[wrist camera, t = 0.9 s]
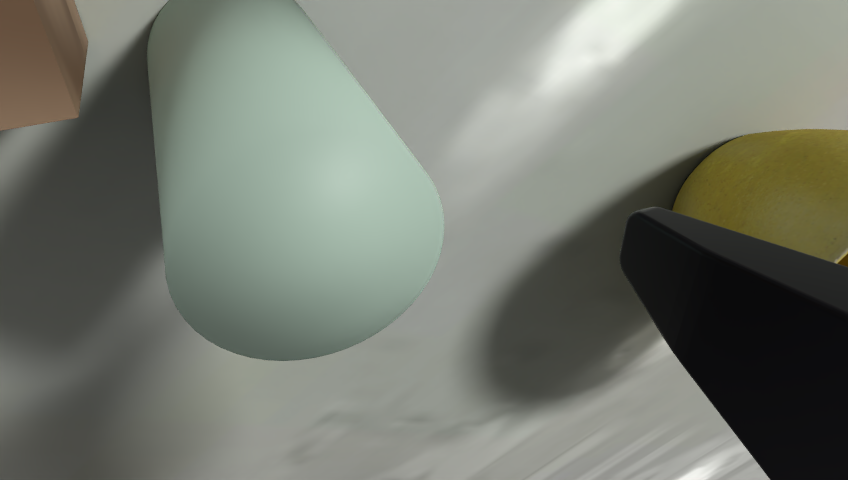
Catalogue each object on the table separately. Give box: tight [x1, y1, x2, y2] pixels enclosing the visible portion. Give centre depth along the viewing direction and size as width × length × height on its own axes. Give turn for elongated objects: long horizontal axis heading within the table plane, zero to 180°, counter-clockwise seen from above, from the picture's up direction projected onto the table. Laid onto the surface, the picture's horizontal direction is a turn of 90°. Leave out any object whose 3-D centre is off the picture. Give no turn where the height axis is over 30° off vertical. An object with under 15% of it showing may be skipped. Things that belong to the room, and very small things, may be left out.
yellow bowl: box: [672, 129, 848, 267], centre depth 22 cm, size 10×10×7 cm
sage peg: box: [147, 0, 444, 361], centre depth 12 cm, size 4×4×8 cm
